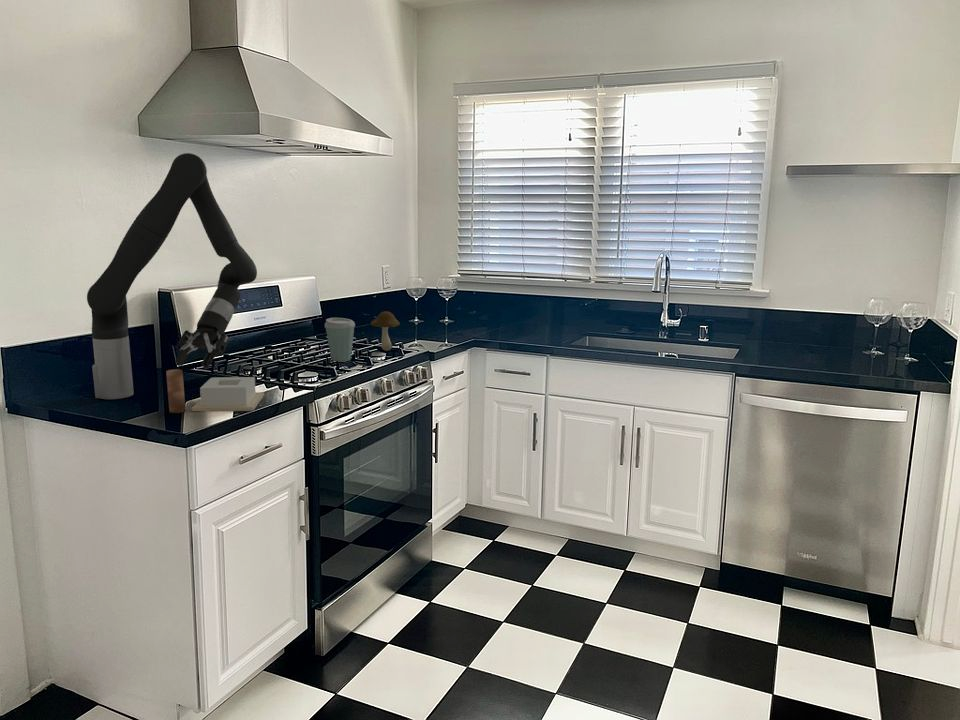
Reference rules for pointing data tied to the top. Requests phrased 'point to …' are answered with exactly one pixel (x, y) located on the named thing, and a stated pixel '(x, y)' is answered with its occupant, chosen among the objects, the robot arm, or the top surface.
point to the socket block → (228, 395)
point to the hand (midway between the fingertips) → (191, 365)
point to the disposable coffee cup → (340, 338)
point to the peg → (175, 391)
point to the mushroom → (385, 327)
